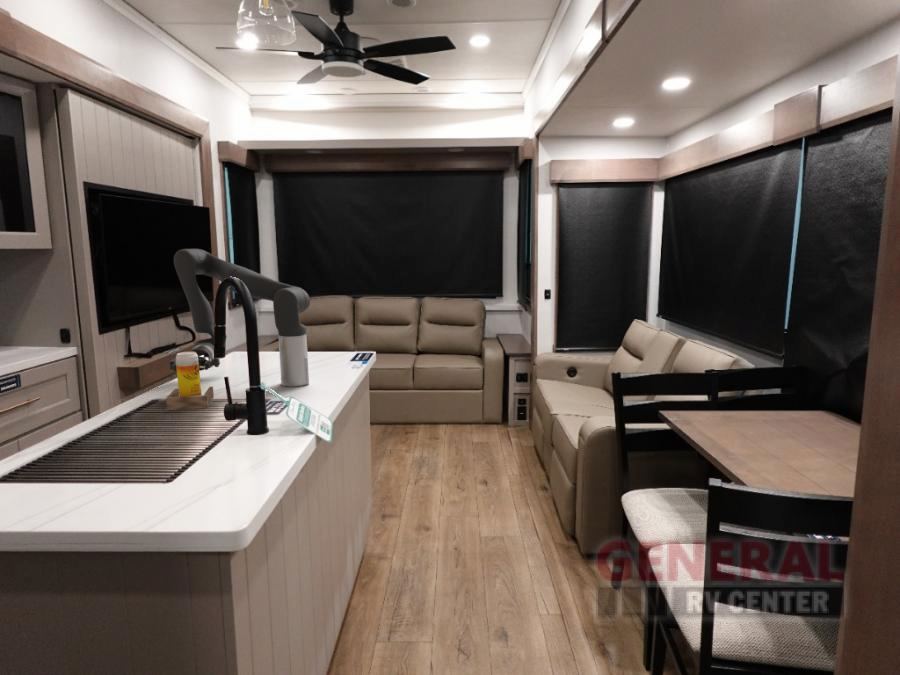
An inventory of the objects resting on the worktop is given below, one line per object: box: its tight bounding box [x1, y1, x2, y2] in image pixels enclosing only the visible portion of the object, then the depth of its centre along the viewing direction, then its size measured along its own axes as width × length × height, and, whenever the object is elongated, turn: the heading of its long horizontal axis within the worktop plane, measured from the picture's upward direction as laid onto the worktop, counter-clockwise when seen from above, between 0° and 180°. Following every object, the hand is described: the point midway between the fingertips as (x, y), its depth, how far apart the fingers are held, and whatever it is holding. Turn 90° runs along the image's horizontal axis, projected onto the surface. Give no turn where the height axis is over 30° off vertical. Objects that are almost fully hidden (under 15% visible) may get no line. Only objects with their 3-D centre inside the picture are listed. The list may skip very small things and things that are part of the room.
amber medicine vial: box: [175, 351, 203, 397], centre depth 165 cm, size 6×6×15 cm
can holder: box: [165, 386, 215, 411], centre depth 166 cm, size 11×11×4 cm
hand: (190, 367), depth 168 cm, fingers open, 8 cm apart
